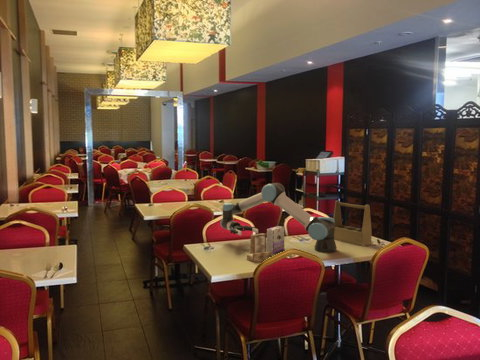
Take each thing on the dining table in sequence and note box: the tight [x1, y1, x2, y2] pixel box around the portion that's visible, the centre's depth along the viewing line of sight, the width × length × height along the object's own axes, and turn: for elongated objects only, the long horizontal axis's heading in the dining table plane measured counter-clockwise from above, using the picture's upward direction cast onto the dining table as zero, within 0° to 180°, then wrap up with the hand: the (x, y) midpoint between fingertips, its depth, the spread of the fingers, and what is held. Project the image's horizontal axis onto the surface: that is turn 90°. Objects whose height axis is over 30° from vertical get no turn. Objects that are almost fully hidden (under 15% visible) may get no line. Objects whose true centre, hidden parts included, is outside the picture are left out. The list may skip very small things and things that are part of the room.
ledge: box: [246, 251, 273, 263], centre depth 288 cm, size 14×8×5 cm, turn 120°
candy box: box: [266, 225, 285, 255], centre depth 309 cm, size 14×6×16 cm, turn 141°
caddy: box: [332, 200, 373, 247], centre depth 337 cm, size 29×11×30 cm, turn 37°
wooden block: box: [250, 232, 267, 254], centre depth 298 cm, size 10×4×14 cm, turn 120°
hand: (249, 232), depth 307 cm, fingers open, 13 cm apart
